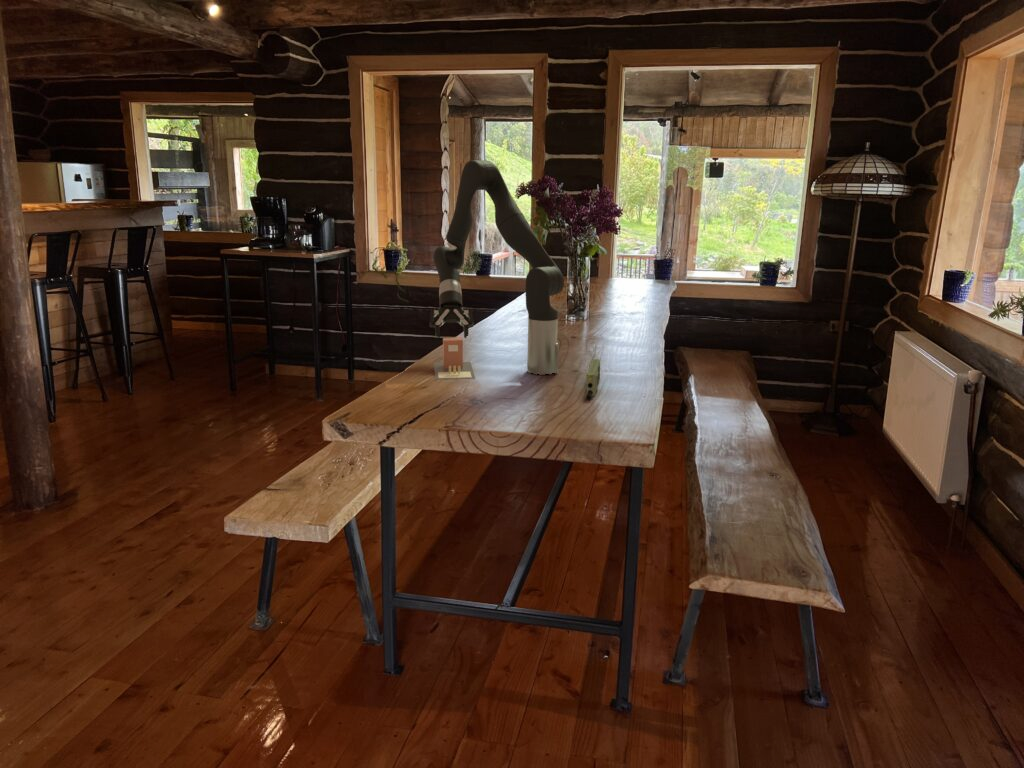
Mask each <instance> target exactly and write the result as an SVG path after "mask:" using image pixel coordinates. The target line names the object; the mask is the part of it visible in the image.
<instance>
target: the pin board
mask: <svg viewBox="0 0 1024 768" xmlns="http://www.w3.org/2000/svg"><path fill="white" fill-rule="evenodd" d="M472 366H473V365H472V363H471V361H463V368H461V367H460V366H458V368H456V366H453V368H451V366H449V368H444V366H443V361H441V362H433V369H434V370H433V371H434V380H436V381H438V380H441V381H442V380H475V379H476V375H475V372H474V369H473V367H472Z"/></svg>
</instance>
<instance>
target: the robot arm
mask: <svg viewBox="0 0 1024 768" xmlns="http://www.w3.org/2000/svg"><path fill="white" fill-rule="evenodd" d="M476 191H485V192H486V193H487V194H488V196H489V198H490V199H491V200H492V203H493V204H494V217H495V218H494V220H495V222H494V223H495V226H496V228H497V230H498V232H499V233H500V235H501V237H502V239H503V240H504V241H505V243H506V245H507V246H509V247H510V248H511V249H512V250H513V251H514V252H515V253H517V254H518V255H519V256H521V257H522V258H523V259H524V260H525V261H526V262H527V263H528V264H529V265H530V267H531V269H530V270H529V271H528V272H527V274H526V277H525V306H526V308H525V309H526V310H527V313H528V314H527V315H528V317H527V323H528V325H527V366H526V367H527V368H526V369H527V371H528V372H527V373H529V374H531V373H533V374H532V375H537V374H539V375H540V376H546V375H545V374H549V375H553V374H552V373H555V374H558V370H559V368H558V367H559V343H558V325H559V324H558V323H559V322H558V321H559V312H558V309H557V308H555V307H552V305H551V301H550V297H551V296H552V297H553V296H557V295H559V294H560V293H561V292H563V289H564V287H565V279H564V275H563V273H562V271H561V269H560V268H559V267H558V265H557V264H556V263H555V261H554V260H553V259H552V257H551V256H550V255H549V254H548V252H547V250H546V249H545V248H544V246H543V245H542V243H541V242H540V240H539V238H538V237H537V235H536V234H535V232H534V230H533V228H532V226H530V224H529V222H528V220H527V219H526V217H525V216H524V214H523V212H522V210H521V209H520V208H519V206H518V204H517V202H516V201H515V199H514V197H513V196H512V194H511V192H510V191H509V188H508V186H507V184H506V182H505V180H504V177H503V176H502V172H500V169H499V167H498V166H497V165H496V164H495V163H494V162H493V161H490V160H487V159H486V160H485V159H478V160H477V159H471V160H469V161H467V162H466V163H465V164H464V166H463V168H462V171H461V177H460V180H459V186H458V191H457V196H456V203H455V207H454V211H453V216H452V219H451V221H450V224H449V226H448V229H447V233H446V235H445V239H446V242H447V243H449V244H450V245H452V246H454V247H455V248H452V247H448V246H443V245H440V246H437V247H436V248H435V250H434V252H433V264H434V266H435V268H436V272H437V274H438V277H439V287H438V288H439V289H438V297H439V299H438V300H439V302H438V303H439V309H438V310H436V309H434V308H430V311H429V312H430V313H429V327H430V328H434V329H435V330H434V331H435V333H434V334H435V337H437V339H440V338H441V326H443V325H444V324H445V323H447V324H450V323H452V324H457V323H458V324H459V325H460V326H462V327H463V338H464V339H466V338H467V337H468V336H469V328H473V327H474V323H475V322H474V315H473V308H470V307H469V308H467V309H463V294H462V287H461V273H460V272H459V270H460V269H461V268H462V267H463V266H464V263H465V251H466V245H467V241H468V238H469V235H470V233H471V230H472V227H473V212H472V202H473V198H474V196H475V194H476ZM464 315H465V316H466V318H468V321H467V320H466V318H465V317H464ZM437 316H439V318H438V319H437V321H435V318H436V317H437ZM539 375H538V376H539Z"/></svg>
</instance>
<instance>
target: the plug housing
mask: <svg viewBox="0 0 1024 768" xmlns="http://www.w3.org/2000/svg"><path fill="white" fill-rule="evenodd" d="M463 341H464V340H463V337H442V348H443V349H442V350H443V351H442V353H443V354H442V360H443V361H442V362H443V366H444V368H449V366H451V368H453V366H456V368H458V366H460V367H461V368H463V362H464V360H463V359H464V357H463V355H464V354H463V353H464V349H463V344H464V342H463Z"/></svg>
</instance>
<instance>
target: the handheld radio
mask: <svg viewBox="0 0 1024 768" xmlns="http://www.w3.org/2000/svg"><path fill="white" fill-rule="evenodd" d="M600 372H601V360H600V359H598V358H593V359H591V361H590V363H589V365H588V369H587V371H586V374H585V375H586V379H585V381H586V382H585V383H586V388H585V389H586V390H585V391H586V392H585V393H586V400H588V401H589V400H591V399H592V397H595V396H596V393H597V390H598V387H599V382H600V380H601V376H600V375H601V373H600Z"/></svg>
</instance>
